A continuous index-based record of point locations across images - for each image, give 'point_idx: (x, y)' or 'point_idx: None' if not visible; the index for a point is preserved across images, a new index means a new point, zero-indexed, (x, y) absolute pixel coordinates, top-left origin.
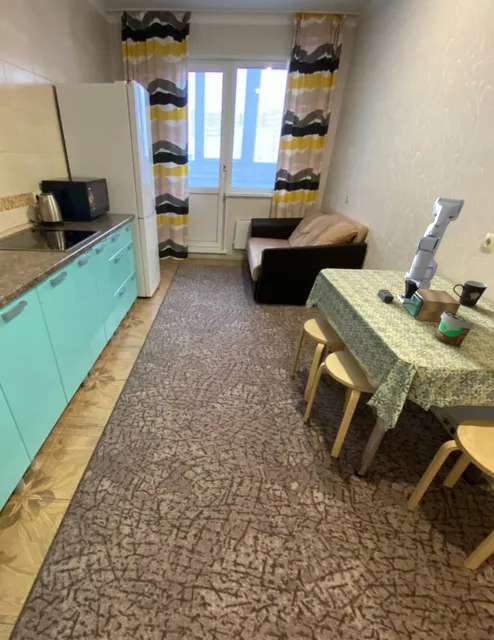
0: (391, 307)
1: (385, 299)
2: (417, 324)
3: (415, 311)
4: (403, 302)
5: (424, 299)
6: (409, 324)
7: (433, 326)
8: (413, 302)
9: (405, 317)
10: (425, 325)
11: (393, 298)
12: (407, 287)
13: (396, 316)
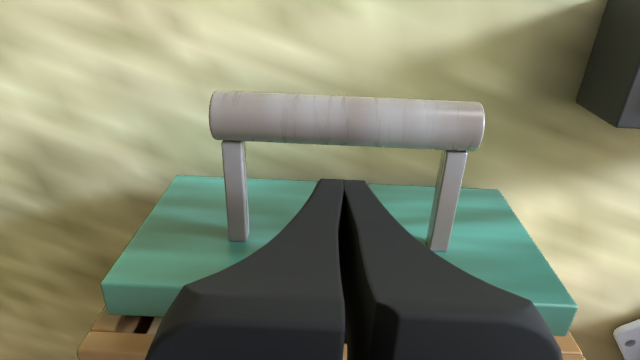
0: (435, 44)
1: (625, 16)
2: (50, 158)
3: (157, 204)
4: (211, 109)
5: (108, 356)
6: (8, 81)
7: (73, 267)
8: (263, 243)
9: (180, 105)
10: (62, 217)
11: (605, 117)
12: (292, 258)
13: (172, 10)
